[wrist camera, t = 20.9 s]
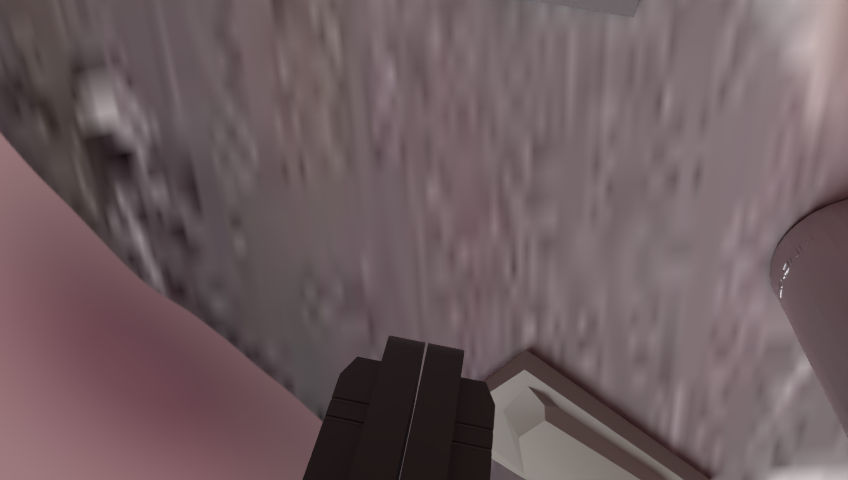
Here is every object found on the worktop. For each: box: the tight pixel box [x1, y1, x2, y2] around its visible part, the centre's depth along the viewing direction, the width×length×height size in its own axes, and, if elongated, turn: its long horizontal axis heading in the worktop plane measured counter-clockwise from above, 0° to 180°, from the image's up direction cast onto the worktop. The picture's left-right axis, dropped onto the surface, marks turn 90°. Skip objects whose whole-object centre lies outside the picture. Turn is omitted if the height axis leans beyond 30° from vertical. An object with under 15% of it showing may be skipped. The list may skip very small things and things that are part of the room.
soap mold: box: [484, 350, 710, 480], centre depth 51 cm, size 10×20×4 cm, turn 52°
